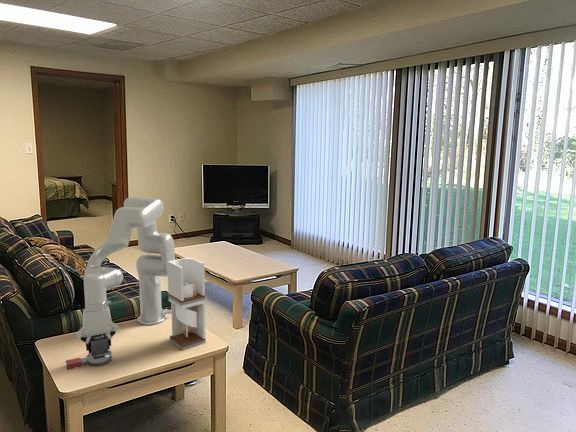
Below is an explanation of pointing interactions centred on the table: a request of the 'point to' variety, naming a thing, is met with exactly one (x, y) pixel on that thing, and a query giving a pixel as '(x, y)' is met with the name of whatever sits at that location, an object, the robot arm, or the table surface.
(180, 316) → the two-tier white tower
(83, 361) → the ratchet
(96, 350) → the socket
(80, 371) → the table surface
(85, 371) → the table surface
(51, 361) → the table surface
